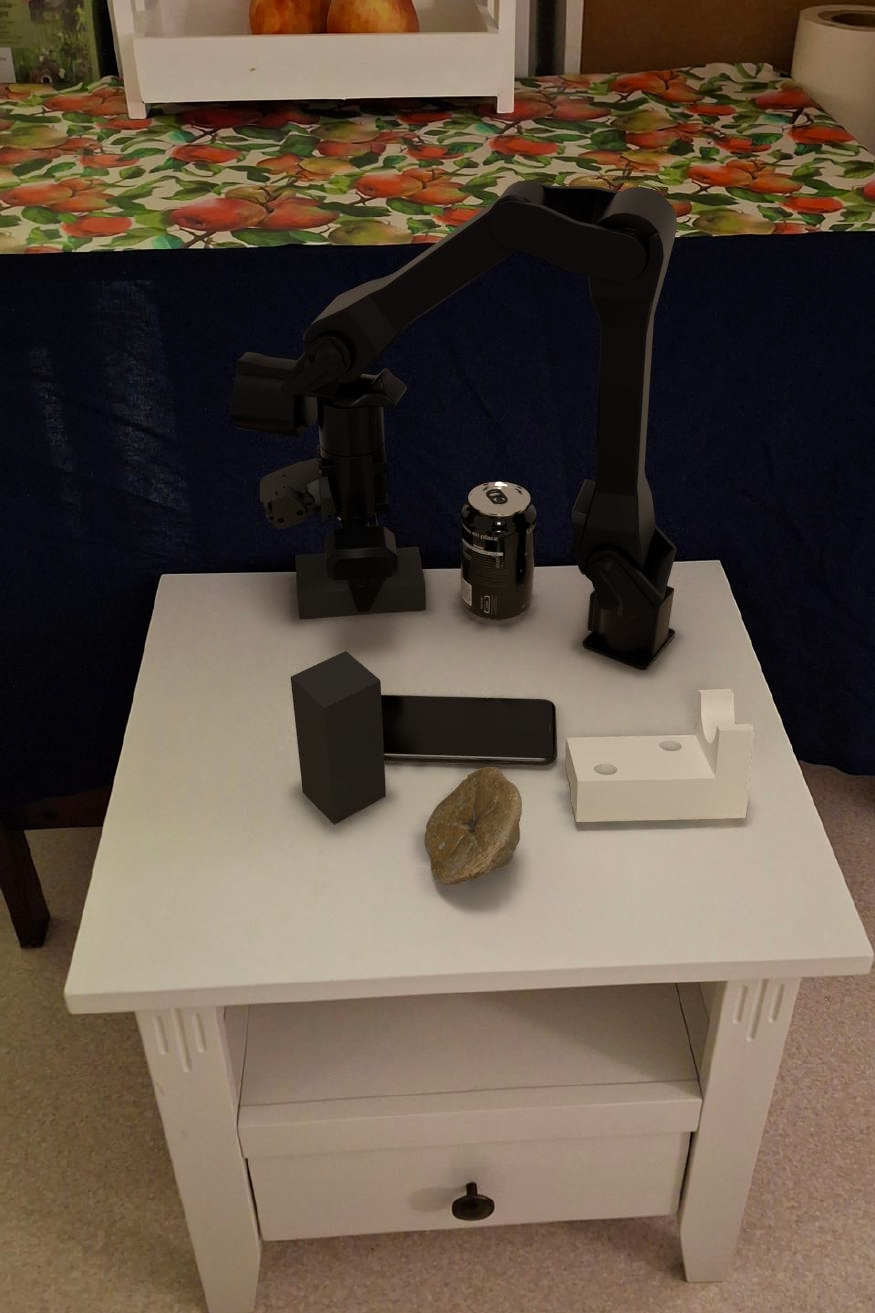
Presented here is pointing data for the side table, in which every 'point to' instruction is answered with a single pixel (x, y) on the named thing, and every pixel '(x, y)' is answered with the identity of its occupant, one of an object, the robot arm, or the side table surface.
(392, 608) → the base pad
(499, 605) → the beverage can
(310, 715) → the black pad block
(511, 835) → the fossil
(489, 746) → the smartphone
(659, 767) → the bracket
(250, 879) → the side table surface
